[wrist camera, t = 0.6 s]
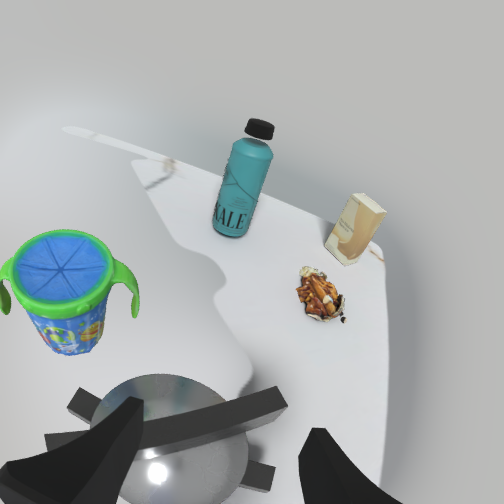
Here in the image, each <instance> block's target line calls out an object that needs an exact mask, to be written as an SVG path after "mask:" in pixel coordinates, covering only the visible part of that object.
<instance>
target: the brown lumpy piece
mask: <svg viewBox="0 0 504 504" xmlns="http://www.w3.org/2000/svg"><path fill="white" fill-rule="evenodd" d="M299 274H300V275H301V276H303V279H302V283H303V287H299V288H297V289H296V290H297V292H298V296H299V299H300V301H301V303H302V302H304V301H306V302H307V304H308V305H307V308H306V313H307V314H308V315H309V316H312V317H315V318H316V319H317V320H319V321H321V320H323V321H325V322H328V321H330V319H332V318H335V317H337V316H338V315H339V314H340V317H341V316H342V315H343V312H342V311H344V301H345V298H344V297H343V295H342V294H341V295H340V294H339V296H338V293H337V290H336V288H335V286H334V285H333V284H332V283H330V282H326V280H325V279H327V276H326V274H325V273H324V272H321V274H319V273H318V269H314V268H313V267H302V270H300V273H299ZM346 321H347V319H346V317H341V322H342V323H346Z"/></svg>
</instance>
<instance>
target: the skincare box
mask: <svg viewBox="0 0 504 504" xmlns="http://www.w3.org/2000/svg"><path fill="white" fill-rule="evenodd" d="M386 213H387V212H386V211H385V210H384V209H383V208H382V207H380V206H379V205H378V204H377V203H376V202H375V201H373V200H372V199H370V198H369V197H368V196H367V195H365V194H364V193H352V194H351V196H350V198H349V200H348V202H347V204H346V206H345V208H344V209H343V211H342V214H341V215H340V217H339V219H338V221H337V223H336V225H335V226H334V228H333V230H332V232H331V234H330V236H329V237H328V239H327V241H326V243H325V245H324V246H325V247H326V248H327V249H328V250H329V251H330V252H331V253H332V254H333V255H334V256H335V257H336V258H337V259H338V260H339V261H340V262H341V263H342V264H343V265H344V266H347V265H350V264H353V263H356V262H357V261H358V259H359V258H360V256H361V255H362V253H363V251H364V250H365V248H366V247H367V245H368V243H369V242H370V240H371V238H372V237H373V235H374V234H375V232H376V230H377V229H378V227H379V225H380V224H381V222H382V220H383V219H384V217H385V215H386Z"/></svg>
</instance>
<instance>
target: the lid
mask: <svg viewBox="0 0 504 504" xmlns="http://www.w3.org/2000/svg"><path fill="white" fill-rule="evenodd" d="M129 396H132V397H136V398H139V399H143V400H144V424H143V434H142V438H141V441H140V445H139V448H138V451H137V453H136V455H135V458H134V460H133V462H132V464H131V467H130V469H129V471H128V473H127V476H126V478H125V480H124V482H123V485H122V487H121V490H120V492H119V496H121V497H122V498H123V499H124V500H126V501H127V502H129V503H131V504H220V503H221V502H223V501H224V500H225V499H227V498H228V497H229V496H230V495H231V494H232V493H233V492H234V491H235V489H236V488H237V487H238V485H239V484H240V482H241V480H242V478H243V476H244V474H245V471H246V467H247V463H248V441H247V436H246V433H245V432H246V431H249V430H252V429H254V428H257V427H260V426H263V425H265V424H268V423H270V422H273V421H274V420H275V419H276V418H277V417H278V416H279V415H280V414H281V413H282V412H283V411H284V410H285V409H286V408H287V407H288V405H287V403H286V401H285V400H284V398H283V396H282V394H281V393H280V391H279V389H278V388H277V386H274V387H272V388H269V389H266V390H263V391H259V392H256V393H253V394H250V395H247V396H244V397H240V398H237V399H234V400H230V401H227V402H226V401H225V399H223V398H222V397H221V396H220V395H219V394H217V393H216V392H215V391H213V390H212V389H210V388H209V387H207V386H205V385H203V384H201V383H199V382H197V381H194V380H192V379H189V378H185V377H182V376H176V375H170V374H150V375H144V376H139V377H136V378H133V379H130V380H127V381H125V382H123V383H121V384H120V385H118V386H117V387H115V388H114V389H112V390H111V391H110V392H109V393H108V394H107V395H106V396H105V397H104V398H103V400H102V401H101V402H100V403H99V405H98V407H97V408H96V410H95V413H94V415H93V417H92V421H91V425H90V429H91V428H93V427H94V426H95V425H97V424H98V423H99V422H101V421H102V420H103V419H104V418H106V417H107V416H108V415H109V414H110V413H112V412H113V411H114V410H115V409H116V408H117V407H118V406H119V405H120V404H121V403H122V402H124V401H125V400H126V399H127V398H128V397H129ZM87 431H88V430H85V431H76V432H65V433H53V434H45V435H44V436H45V441H46V446H47V450H48V451H51V450H53V449H56V448H58V447H60V446H62V445H64V444H67V443H68V442H70V441H72V440H74V439H76V438H77V437H79V436H81V435H82V434H84V433H86V432H87Z"/></svg>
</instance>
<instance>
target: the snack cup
mask: <svg viewBox="0 0 504 504" xmlns="http://www.w3.org/2000/svg"><path fill="white" fill-rule="evenodd" d="M3 279H6V280H8V281H10V283H11V287H12V290H13V292H14V294H15V296H16V298H17V300H18V301H19V302H20V304H21V305H22V306H23V307H24V309H26V311H27V313H28V315H29V317H30V319H31V320H32V322H33V324H34V325H35V327H36V328H37V330H38V332H39V333H40V335H41V336H42V338H43V340H44V341H45V342H46V344H47V345H48V346H49V347H50V348H51V349H52V350H53V351H54V352H57V353H58V354H59V353H61V354H64V355H68V356H70V355H78V354H82V353H87V352H90V351H91V349H92V348H93V347H94V346H95V345H96V344H97V343H98V341H99V339H100V338H101V336H102V333H103V328H104V320H105V312H106V304H107V298H108V294H109V292H110V290H111V287H112V286H113V285H114V284H115V283H124V284H125V285H126V286H127V287H128V288H129V290H131V292H132V293H133V294H134V296H133V299H132V305H131V310H132V317H133V318H136V317H137V314H138V311H139V290H138V284H137V280H136V278H135V277H134V275H133V273H132V272H131V271H130V270H129V269H128V267H127V266H126V265H124V264H123V263H121V262H119V261H117V260H116V259H114V258H113V257H112V255H111V252H110V251H109V249H108V247H107V246H106V245H105V244H104V243H103V242H102V241H100V240H99V239H98V238H96V237H94V236H93V235H90V234H87V233H85V232H82V231H77V230H64V229H63V230H54V231H49V232H45V233H42V234H40V235H38V236H35V237H33V238H32V239H30V240H28V241H27V242H26V243H24V244H23V245H22V246H21V247H20V248H19V249H18V251H17V252H16V253H15V255H14V257H12V258H10V259H9V260H8V261H6V262H5V264H4V265H3V266H2V268H1V270H0V309H1V311H2V312H3V313H4V314H5V315H8V314H9V313H10V309H11V297H10V295H9V293H8V291H7V289H6V288H5V287H4V285H3Z"/></svg>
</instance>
